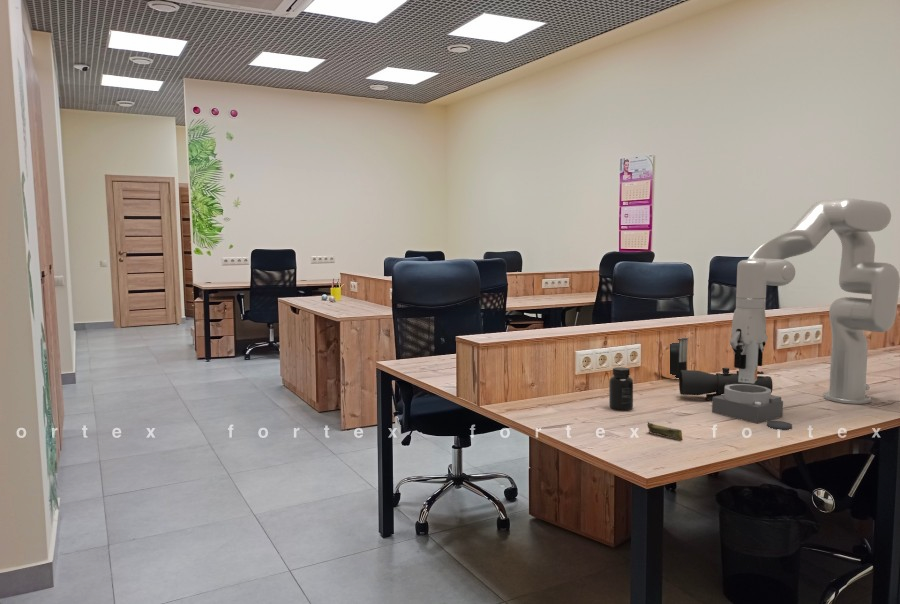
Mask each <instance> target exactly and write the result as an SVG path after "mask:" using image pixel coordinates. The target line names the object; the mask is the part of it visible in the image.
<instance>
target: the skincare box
mask: <svg viewBox="0 0 900 604" xmlns="http://www.w3.org/2000/svg"><path fill="white" fill-rule="evenodd" d="M740 343H743V341H741V340H740ZM742 347H743V346H740V348H741V349H742ZM758 347H759V345H758V341H752V342H751V344H750V345H747V348H746V351H745V354H744V355H746V368H745V369H740V368H738V371H739V377H738V382H743V383H753V384H754V383H755V381H756V380H757V376H758V374H757V371H758V367H759V366H758Z"/></svg>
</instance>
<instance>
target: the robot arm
mask: <svg viewBox="0 0 900 604" xmlns="http://www.w3.org/2000/svg"><path fill="white" fill-rule="evenodd" d="M891 218H892V213H891V210H890V208H889V207H888V206H887V204H885V203H883V202H882V201H873V200H864V199H858V198H856V199H855V198H839V199H838V198H835V199H833V198H832V199H824V200H823V199H822V200H819V201H816V202H814V204H812V205H811V206H810V207H809V208H808V209H807V211H805V213H803V215H802V216H801V217H800V218H799V219H798V220H797V221H796V223H795V224H793V225H792V227H791V228H789V230H787V231H786V232H783V233H781V234H779V235H777V236H776V237H774V238H771V239H770V240H768V241H767V242H764V243H763V244H761V245H760V246H759V247H757V248H756V249H755V250H754V251H753V252H752V254H750V255H749V257H748V258H747V259H742V260H740V261H739V262H738V263H737V266H736V267H737V271H736V292H735V309H734V311H733V316H732V322H731V331H730V340H729V344H730V345H731V349H732V350H733V351H732V353H733V354H734V357H733V358H734V360H733V361H734V362H733V366H734V368H735V369H739V368H740V369H745V368H746V355H744V354H745V351H746V348H747V345H750V344H751V342H752V341H758V345H759V347H758V367H762V366H763V359H764V358H763V356H764V355H763V353H764V352H765V347H766V343H767V341H768V339H769V336H768V335H767V321H766V320H767V317H766V300H767V299H766V298H767V286H773V287H775V286H776V287H782V286H786V285H788V284H790V283H792V282H793V280H794V279H795V277H796V268H795V266H794V264H793V263H791V262H790V261H788V260H787V259H788V258H794V257H797V256H801V255H803V254H806V253H809V252H811V251H813V250H814V249H816V247H817V246H818V245H819V244H820V243H821V241H823V239H824V238H825V237H826V236H827V235H829V233H830V232H831V231H832V230H833V231H834V233H836V235H837V236H838V239H839V240H840V242H841V258H840V267H839V274H838V275H839V276H838V284H839V287H840V289H841V290H843V291H844V292H847V293H852V294H863V295H864V294H865V295H871V298H864V297H852V296H849V297H847V296H844V297H840V298H837V299H835V300H834V301H833V302H832V303H831V304H830V306H829V310H828V315H829V316H828V317H829V322H830V329H831V348H830V351H831V352H830V367H829V368H830V369H829V370H830V371H829V388H828V389H829V390H828V391H824V392H823V398H824V399H826V400H829V401H832V402H836V403H840V404H841V403H842V404H855V405H861V404H862V405H864V404H869V403H871V402H872V398H871V396H869V395H866V392H867V391H869V390H870V388H871V387H870V385H869V384H867V370H868V369H867V368H868V353H869V351H868V350H869V349H868V348H869V345H868V340H867V337H866V335H865V333H864V331H867V332H876V333H884V332H888V331H889V330H890V329H891V328H893V326H894V324H895V321H896V317H897V311H898V304H899V303H898V301H899V294H900V293H899V292H900V273H899V271H898V269H897V268H896V266H894V265H893V264H891V263H888V262H877V261H876V262H875V255H876V253H875V252H876V244H875V242H874V239H873V238H872V236H871V234H869V232H870V233H871V232H880V231H883V230H884V229H886V228H887V227H888V226H889V224H890V222H891ZM740 340H741V341H743V343H740ZM740 346H743V347H742V349H741V348H740Z"/></svg>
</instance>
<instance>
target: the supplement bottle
mask: <svg viewBox="0 0 900 604" xmlns="http://www.w3.org/2000/svg"><path fill="white" fill-rule="evenodd" d="M612 375H613V376H611V377H610V379H609V384H608V385H609V393H608V395H609V398H608V399H609V401H608V402H609V403H608V405H609V408H610V409H611V410H613V411H617V412H618V411H621V412H625V411H631V410H632V409H633V408H634V380H633V379H632V378H631V377H630V375H631V374H630V368H629V367H622V366H617V367H613V368H612Z"/></svg>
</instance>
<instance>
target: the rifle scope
mask: <svg viewBox="0 0 900 604" xmlns="http://www.w3.org/2000/svg"><path fill="white" fill-rule="evenodd" d="M721 370H722V373H720V372H717V373H715V374H714V373H710V372H705V371H702V370H689V369H687V370H680V374H679V379H678V386H679V387H678V389H679V394H680V395H682V396H703V395H705V399H707V401H708V402H709V401H711V402H712V397H715V396H720V395H724V388H725V386H726V385H731V384H749V385H757V386H763V387H766V388H769V389H771V394H772V393H773V385H774V383H773V379H772V377H771V376H768V375H767V376H766V375H765V376H763V375H764V371H762V370H760V371H759V370H757V380H756V381H755V383H754V384H753V383H743V382H738V377H739V370H736V373H730V367H722V368H721Z"/></svg>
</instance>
